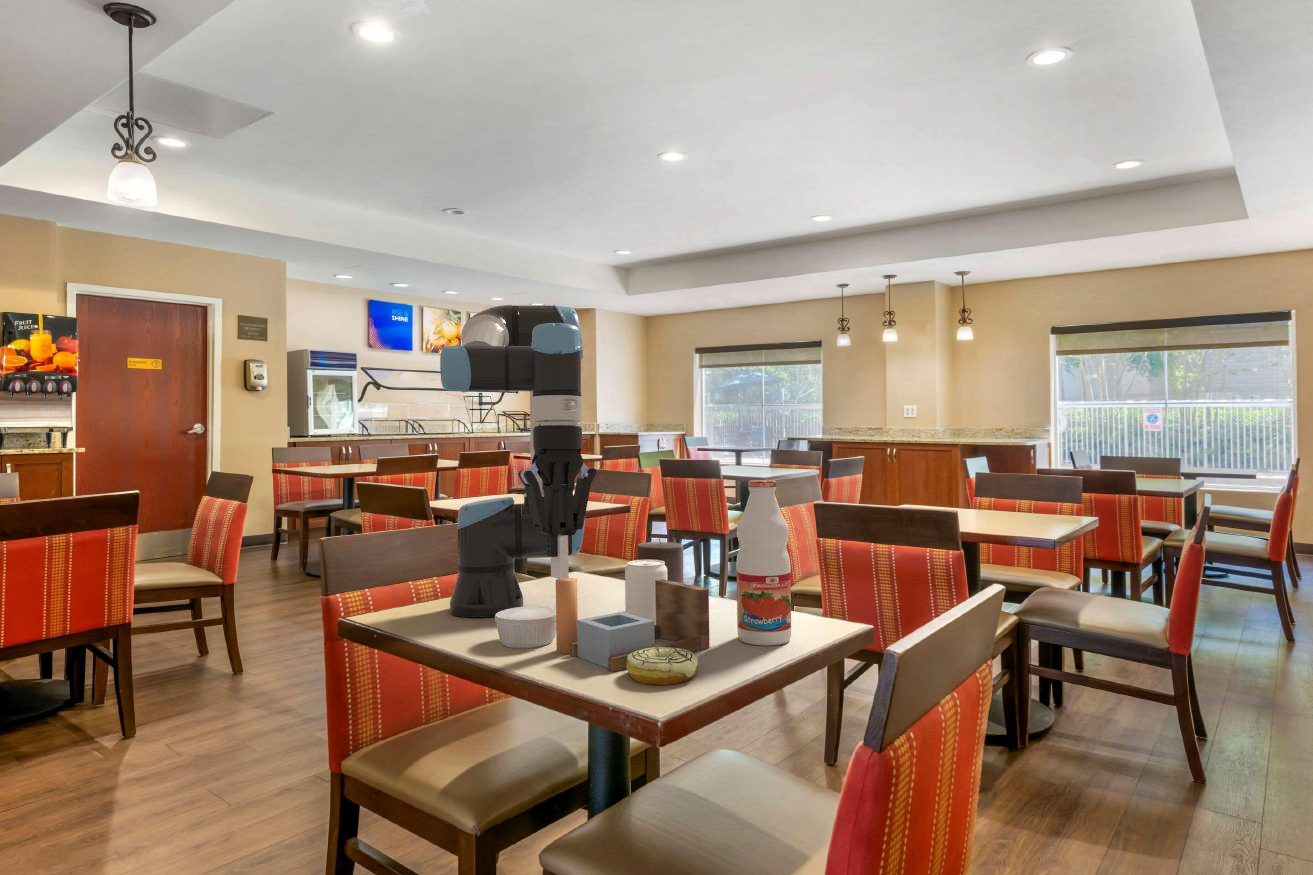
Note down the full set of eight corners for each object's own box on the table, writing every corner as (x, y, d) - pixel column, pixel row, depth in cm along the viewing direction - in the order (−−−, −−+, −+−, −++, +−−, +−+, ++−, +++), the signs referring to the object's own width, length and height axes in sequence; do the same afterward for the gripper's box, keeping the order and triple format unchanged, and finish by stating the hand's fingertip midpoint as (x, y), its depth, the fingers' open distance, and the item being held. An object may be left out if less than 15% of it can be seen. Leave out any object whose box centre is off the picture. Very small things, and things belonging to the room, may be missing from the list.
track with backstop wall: (569, 654, 125) (569, 594, 125) (663, 634, 138) (663, 579, 138) (612, 671, 116) (612, 606, 116) (709, 647, 128) (708, 588, 128)
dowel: (552, 650, 128) (551, 579, 128) (570, 646, 130) (569, 577, 130) (563, 655, 125) (562, 582, 125) (582, 651, 128) (581, 579, 128)
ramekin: (491, 637, 138) (490, 608, 138) (551, 631, 142) (551, 603, 142) (500, 653, 127) (500, 622, 127) (565, 646, 131) (565, 616, 131)
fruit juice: (783, 631, 138) (781, 478, 139) (797, 645, 129) (795, 481, 129) (732, 633, 138) (730, 479, 138) (743, 647, 128) (741, 482, 128)
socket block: (577, 656, 124) (577, 619, 124) (622, 646, 130) (621, 611, 130) (609, 668, 117) (608, 630, 117) (654, 657, 123) (654, 620, 123)
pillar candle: (647, 617, 151) (647, 542, 151) (630, 607, 160) (630, 536, 160) (691, 613, 155) (691, 539, 155) (672, 603, 164) (672, 534, 164)
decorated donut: (706, 685, 110) (706, 659, 110) (633, 691, 107) (633, 664, 107) (688, 664, 120) (688, 640, 120) (621, 669, 118) (621, 645, 118)
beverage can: (617, 627, 143) (617, 564, 143) (638, 618, 150) (637, 558, 150) (655, 632, 139) (654, 567, 139) (675, 622, 147) (674, 560, 147)
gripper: (532, 423, 110) (534, 585, 110) (606, 424, 118) (608, 575, 118) (508, 425, 116) (510, 579, 116) (579, 425, 124) (581, 569, 124)
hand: (559, 577), depth 117 cm, fingers closed
